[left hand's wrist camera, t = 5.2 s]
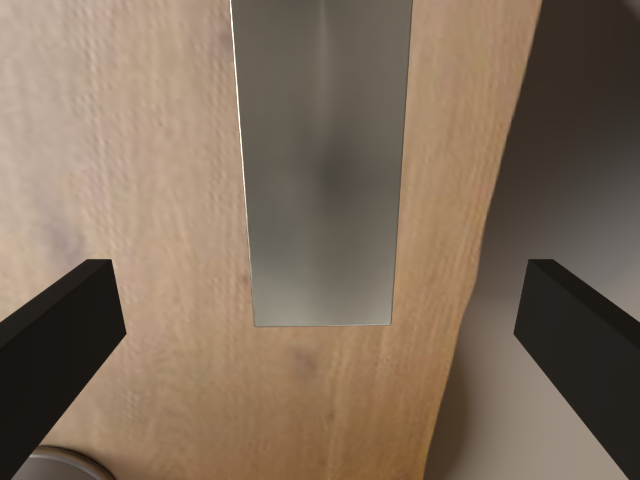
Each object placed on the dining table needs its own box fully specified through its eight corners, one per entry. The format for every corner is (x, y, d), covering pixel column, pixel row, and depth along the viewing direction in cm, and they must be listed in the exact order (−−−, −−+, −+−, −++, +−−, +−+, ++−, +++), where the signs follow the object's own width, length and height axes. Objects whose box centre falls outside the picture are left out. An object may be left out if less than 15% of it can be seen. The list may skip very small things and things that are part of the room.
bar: (366, 249, 25) (391, 326, 17) (273, 250, 25) (253, 328, 17) (386, -303, 17) (460, -700, 8) (245, -304, 16) (175, -704, 8)
